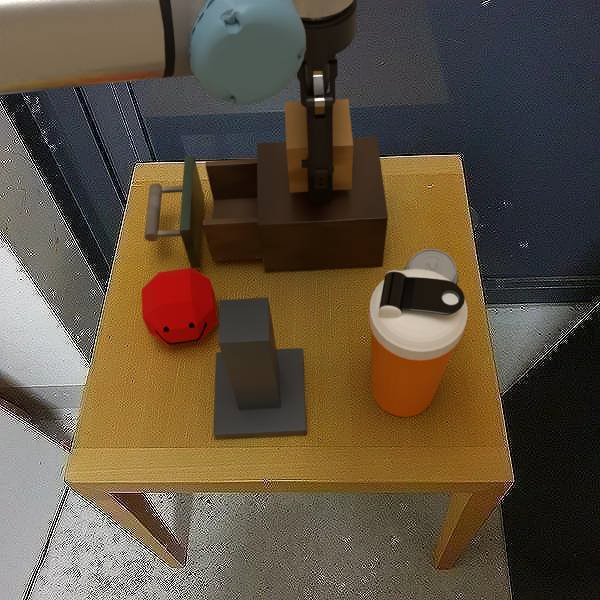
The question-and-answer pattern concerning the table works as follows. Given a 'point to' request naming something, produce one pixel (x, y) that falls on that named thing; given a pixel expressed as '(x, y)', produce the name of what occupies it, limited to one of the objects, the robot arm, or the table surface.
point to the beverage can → (434, 263)
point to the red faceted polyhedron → (179, 306)
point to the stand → (256, 376)
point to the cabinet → (321, 215)
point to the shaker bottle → (413, 337)
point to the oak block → (299, 145)
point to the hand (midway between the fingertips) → (318, 173)
